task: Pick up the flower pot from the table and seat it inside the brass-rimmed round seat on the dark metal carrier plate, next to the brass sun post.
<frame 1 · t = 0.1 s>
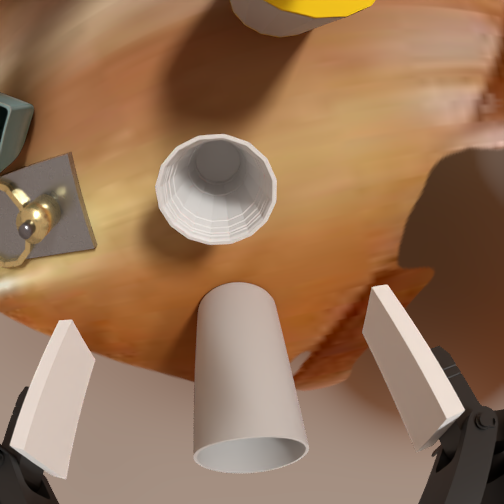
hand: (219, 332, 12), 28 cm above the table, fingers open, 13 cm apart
plastic cup: (217, 161, 36), on the table
cylinder vase: (236, 310, 49), on the table
flower pot: (19, 119, 29), on the table
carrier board: (20, 215, 36), on the table
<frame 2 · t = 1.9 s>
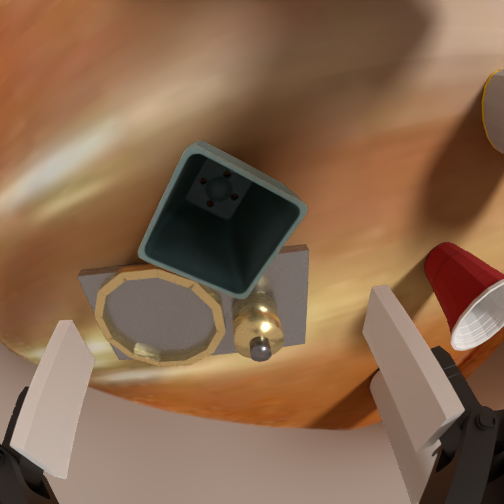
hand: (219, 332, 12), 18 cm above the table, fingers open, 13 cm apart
plastic cup: (438, 260, 35), on the table
cylinder vase: (399, 371, 47), on the table
flower pot: (220, 186, 27), on the table
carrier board: (197, 309, 34), on the table
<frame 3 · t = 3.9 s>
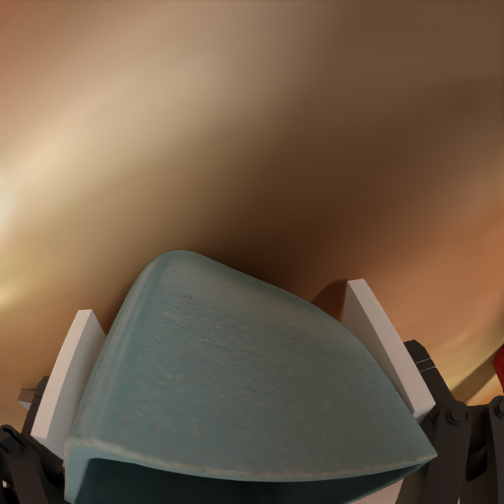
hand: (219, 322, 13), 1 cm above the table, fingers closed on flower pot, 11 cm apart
flower pot: (217, 309, 14), on the table, touching gripper
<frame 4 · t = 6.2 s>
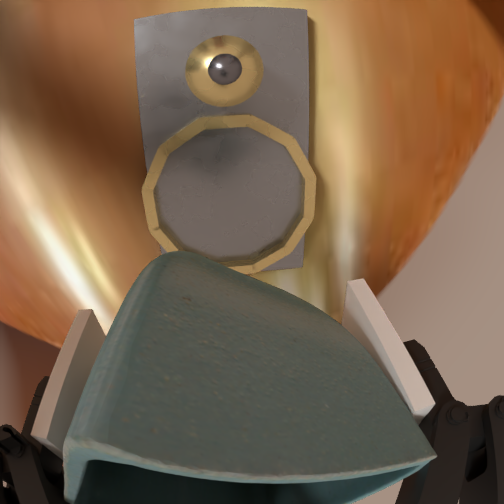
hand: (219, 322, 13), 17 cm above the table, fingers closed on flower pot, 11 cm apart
flower pot: (216, 309, 13), point 16 cm above the table, touching gripper
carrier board: (226, 146, 25), on the table
when the fingers open (5 cm above the table, at t = 8.7 s): flower pot moves 1 cm, point 3 cm above the table.
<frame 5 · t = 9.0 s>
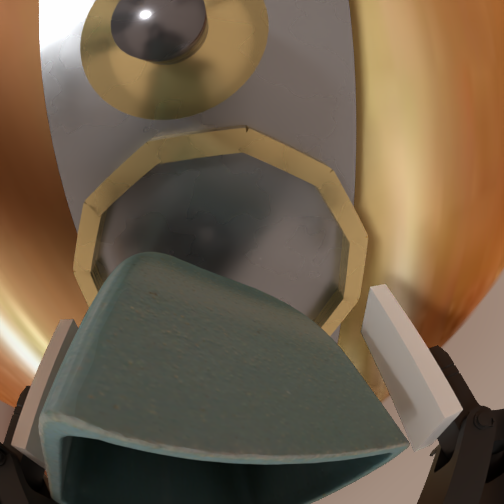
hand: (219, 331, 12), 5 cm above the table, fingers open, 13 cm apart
flower pot: (191, 309, 14), point 3 cm above the table, touching gripper
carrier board: (207, 187, 14), on the table
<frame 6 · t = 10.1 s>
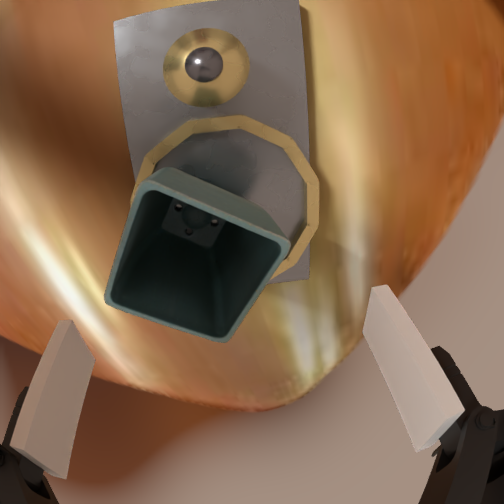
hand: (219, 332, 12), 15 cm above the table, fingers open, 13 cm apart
flower pot: (198, 212, 25), point 1 cm above the table, touching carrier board
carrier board: (219, 151, 23), on the table
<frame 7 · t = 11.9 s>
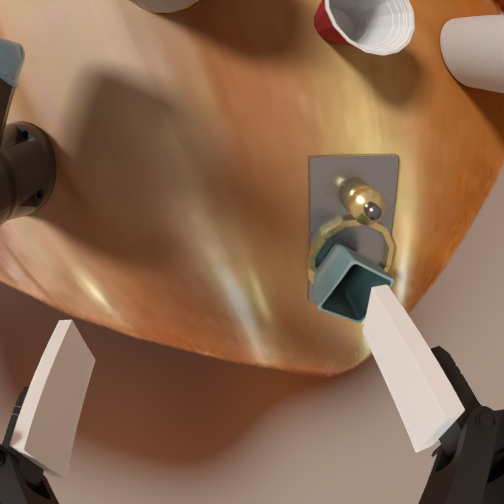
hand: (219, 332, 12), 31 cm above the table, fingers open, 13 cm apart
plastic cup: (335, 26, 31), on the table
cylinder vase: (463, 52, 31), on the table
flower pot: (337, 260, 48), point 1 cm above the table, touching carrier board
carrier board: (350, 231, 47), on the table
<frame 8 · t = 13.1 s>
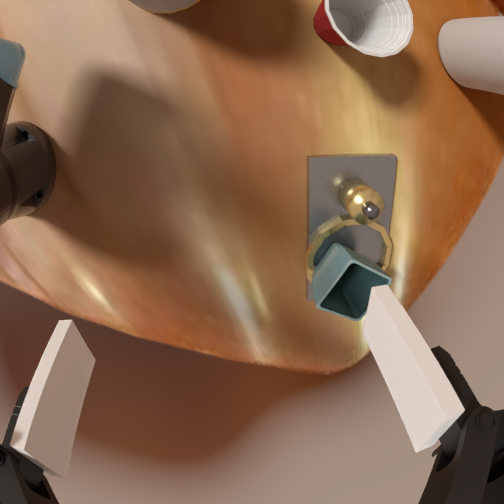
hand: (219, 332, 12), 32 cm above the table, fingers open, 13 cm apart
plastic cup: (334, 27, 31), on the table
cylinder vase: (461, 53, 32), on the table
flower pot: (335, 259, 49), point 1 cm above the table, touching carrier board
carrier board: (348, 230, 47), on the table
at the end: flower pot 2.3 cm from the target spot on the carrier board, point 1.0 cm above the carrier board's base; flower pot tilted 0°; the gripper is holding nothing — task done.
